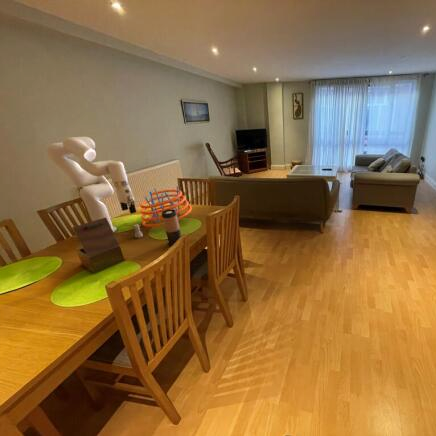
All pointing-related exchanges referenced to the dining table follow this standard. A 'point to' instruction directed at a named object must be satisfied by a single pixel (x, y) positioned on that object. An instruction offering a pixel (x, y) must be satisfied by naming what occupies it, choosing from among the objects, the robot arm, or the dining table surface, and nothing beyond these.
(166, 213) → the travel mug
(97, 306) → the dining table surface
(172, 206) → the toy basket
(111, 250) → the chest
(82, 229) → the lid
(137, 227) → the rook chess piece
